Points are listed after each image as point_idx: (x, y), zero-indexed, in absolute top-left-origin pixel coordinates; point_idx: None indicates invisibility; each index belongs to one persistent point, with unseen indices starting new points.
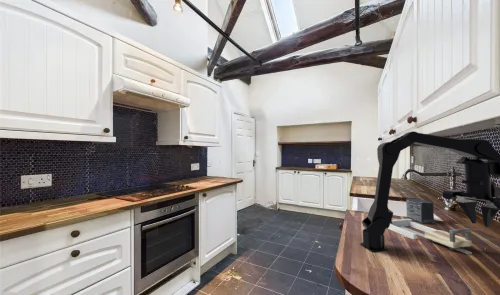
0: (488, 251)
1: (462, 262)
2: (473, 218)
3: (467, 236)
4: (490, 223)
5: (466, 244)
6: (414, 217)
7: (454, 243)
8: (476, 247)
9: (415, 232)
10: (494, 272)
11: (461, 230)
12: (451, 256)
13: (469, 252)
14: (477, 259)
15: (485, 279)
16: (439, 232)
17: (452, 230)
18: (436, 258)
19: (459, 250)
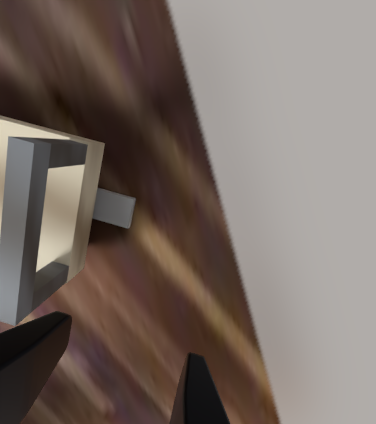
0: (158, 74)
1: (160, 338)
2: (22, 402)
3: (64, 163)
4: (216, 403)
5: (92, 182)
6: None
7: (72, 269)
8: (105, 64)
9: None
10: (254, 335)
11: (27, 241)
12: (113, 312)
13: (128, 209)
14: (175, 252)
15: (254, 418)
16: None
17: (11, 319)
18: (100, 379)
19: (96, 219)
